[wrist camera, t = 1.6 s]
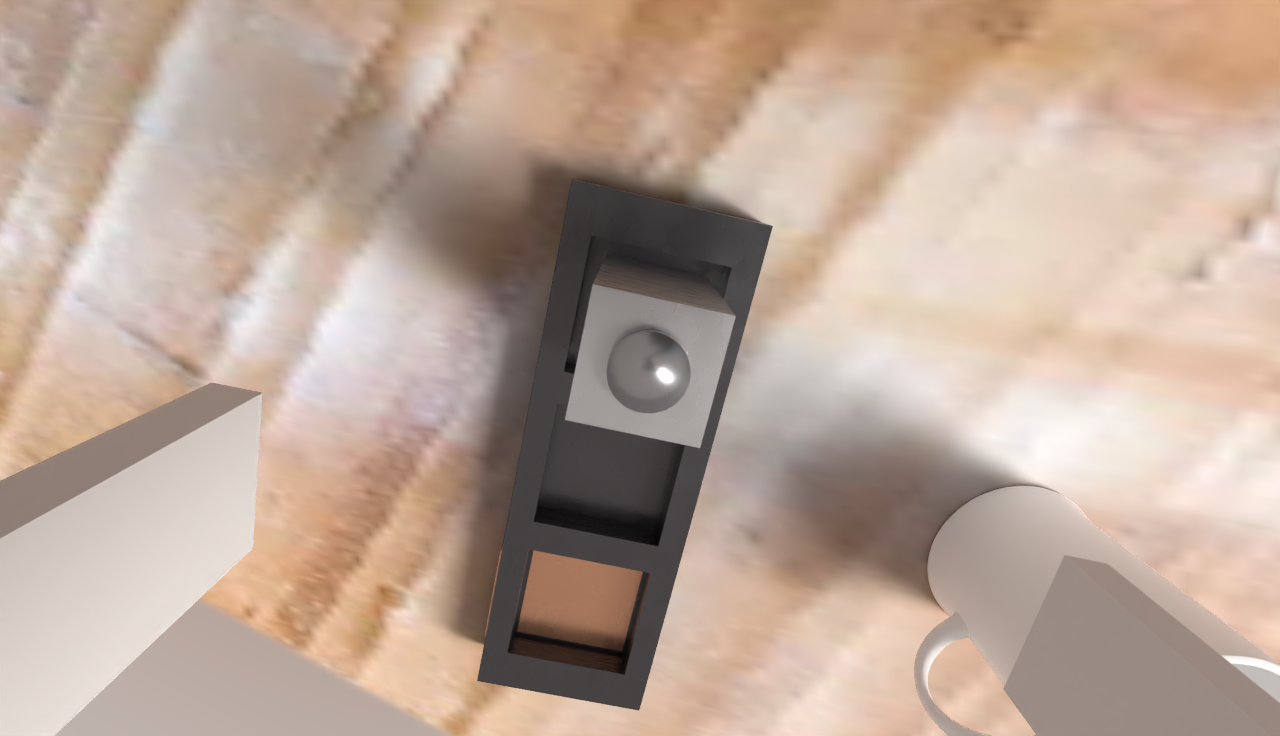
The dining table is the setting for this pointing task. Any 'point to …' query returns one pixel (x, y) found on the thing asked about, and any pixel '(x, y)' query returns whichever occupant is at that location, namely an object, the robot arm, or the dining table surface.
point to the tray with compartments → (605, 469)
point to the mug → (1041, 585)
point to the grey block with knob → (650, 352)
